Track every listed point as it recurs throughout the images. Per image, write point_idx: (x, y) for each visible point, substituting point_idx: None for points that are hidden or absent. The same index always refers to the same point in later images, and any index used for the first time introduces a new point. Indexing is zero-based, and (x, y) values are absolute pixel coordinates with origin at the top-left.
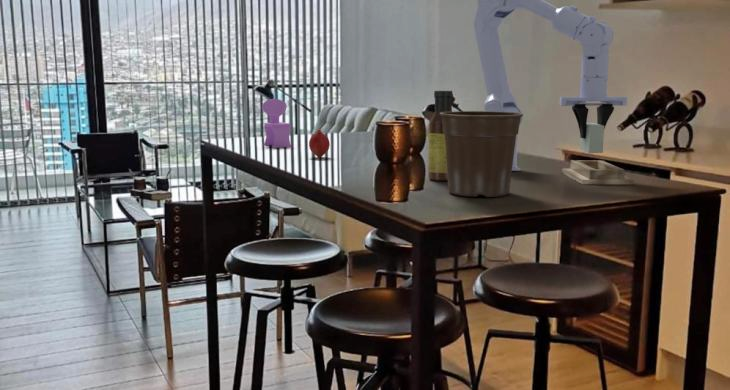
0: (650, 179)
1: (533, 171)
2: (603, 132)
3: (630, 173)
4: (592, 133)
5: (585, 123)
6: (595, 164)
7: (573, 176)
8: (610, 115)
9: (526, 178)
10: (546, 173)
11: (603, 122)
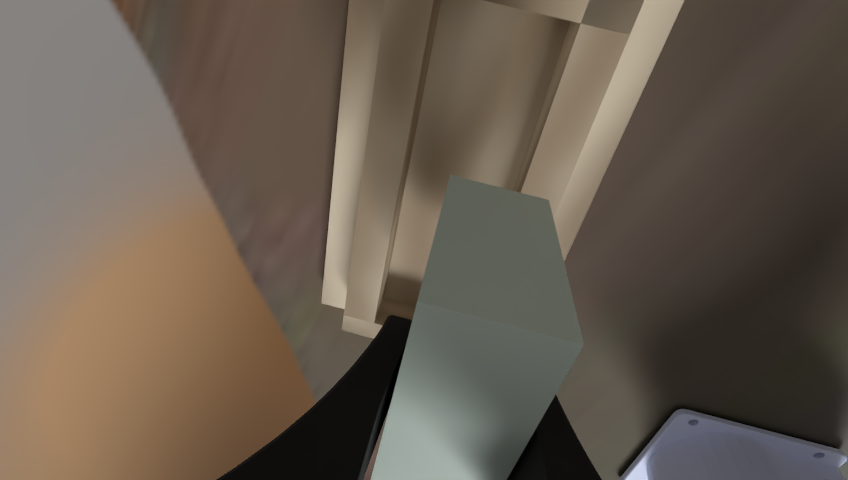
0: (208, 82)
1: (615, 395)
2: (432, 256)
3: (244, 255)
4: (546, 279)
5: (552, 452)
6: (386, 313)
7: (597, 180)
8: (253, 455)
9: (810, 260)
10: (598, 346)
11: (358, 408)
